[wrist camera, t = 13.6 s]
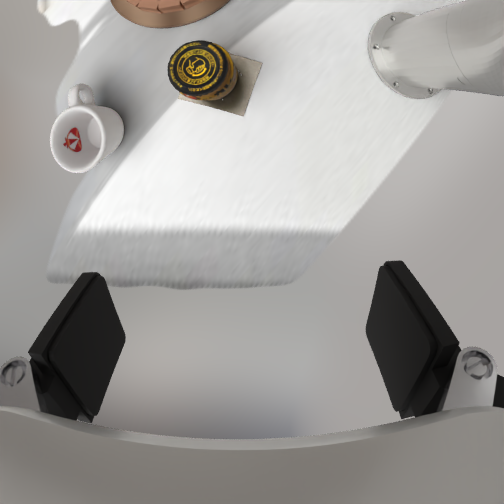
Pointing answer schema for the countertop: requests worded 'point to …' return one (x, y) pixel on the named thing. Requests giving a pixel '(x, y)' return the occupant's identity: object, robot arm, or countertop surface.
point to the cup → (84, 132)
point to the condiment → (213, 76)
